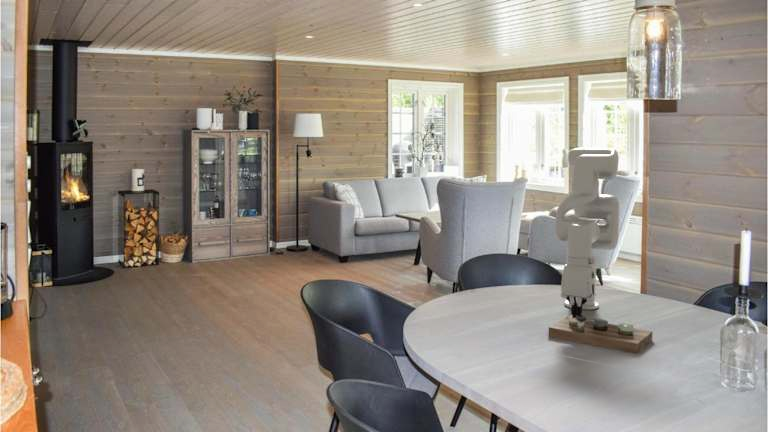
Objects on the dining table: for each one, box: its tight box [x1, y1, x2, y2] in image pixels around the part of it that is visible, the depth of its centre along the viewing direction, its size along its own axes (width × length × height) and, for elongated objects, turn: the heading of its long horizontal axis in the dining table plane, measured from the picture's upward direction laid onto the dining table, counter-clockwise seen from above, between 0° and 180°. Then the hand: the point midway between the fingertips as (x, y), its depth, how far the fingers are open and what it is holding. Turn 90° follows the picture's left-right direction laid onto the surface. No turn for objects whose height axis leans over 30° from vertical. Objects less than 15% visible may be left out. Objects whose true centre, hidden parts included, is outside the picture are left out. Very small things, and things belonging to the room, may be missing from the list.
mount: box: [548, 316, 654, 354], centre depth 224 cm, size 16×28×3 cm, turn 54°
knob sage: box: [618, 322, 634, 336], centre depth 219 cm, size 4×4×5 cm
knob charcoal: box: [592, 318, 609, 331], centre depth 223 cm, size 4×4×5 cm
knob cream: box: [568, 314, 578, 327], centre depth 228 cm, size 4×4×5 cm
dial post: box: [576, 314, 588, 333], centre depth 220 cm, size 3×3×5 cm
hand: (576, 317), depth 228 cm, fingers closed
